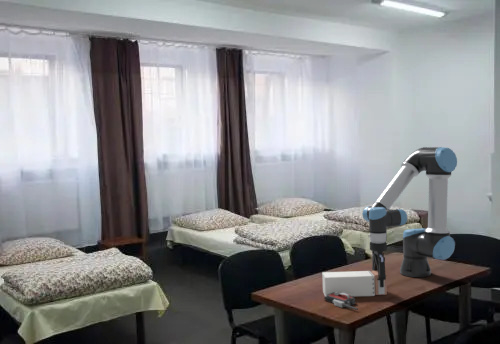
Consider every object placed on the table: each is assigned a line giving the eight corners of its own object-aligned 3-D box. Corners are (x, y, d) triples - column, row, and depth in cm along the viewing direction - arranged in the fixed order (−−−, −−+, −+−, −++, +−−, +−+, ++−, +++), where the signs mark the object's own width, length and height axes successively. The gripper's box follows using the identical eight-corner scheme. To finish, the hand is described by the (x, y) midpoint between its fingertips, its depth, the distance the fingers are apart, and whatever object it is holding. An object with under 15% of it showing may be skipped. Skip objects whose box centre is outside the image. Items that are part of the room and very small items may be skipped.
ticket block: (370, 289, 239) (369, 270, 239) (374, 295, 230) (374, 275, 230) (322, 291, 239) (322, 272, 239) (325, 297, 230) (325, 277, 230)
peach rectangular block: (382, 289, 239) (382, 270, 238) (386, 294, 231) (386, 274, 230) (371, 289, 239) (371, 270, 238) (375, 294, 231) (375, 275, 230)
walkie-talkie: (320, 302, 226) (355, 313, 210) (320, 292, 225) (355, 302, 209) (334, 297, 231) (369, 308, 215) (334, 288, 231) (369, 298, 215)
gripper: (364, 237, 244) (365, 284, 245) (375, 246, 223) (376, 298, 224) (380, 237, 244) (381, 284, 245) (392, 246, 223) (393, 297, 224)
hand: (379, 290), depth 235 cm, fingers closed on peach rectangular block, 8 cm apart
